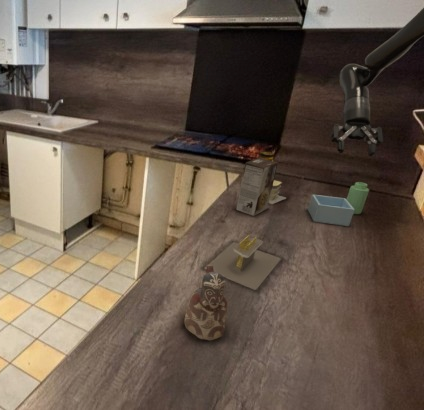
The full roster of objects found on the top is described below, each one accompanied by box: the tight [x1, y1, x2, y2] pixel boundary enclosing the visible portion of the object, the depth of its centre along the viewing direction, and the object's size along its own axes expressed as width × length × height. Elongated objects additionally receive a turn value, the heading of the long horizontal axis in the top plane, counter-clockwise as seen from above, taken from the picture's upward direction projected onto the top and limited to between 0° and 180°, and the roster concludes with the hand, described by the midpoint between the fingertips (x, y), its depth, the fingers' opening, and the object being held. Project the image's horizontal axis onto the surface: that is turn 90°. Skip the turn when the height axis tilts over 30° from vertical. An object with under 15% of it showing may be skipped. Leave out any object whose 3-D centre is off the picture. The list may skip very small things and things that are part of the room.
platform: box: [203, 234, 282, 291], centre depth 86 cm, size 12×18×7 cm, turn 137°
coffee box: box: [236, 157, 279, 217], centre depth 114 cm, size 9×6×16 cm
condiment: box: [257, 151, 275, 161], centre depth 139 cm, size 7×8×12 cm
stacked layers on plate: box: [269, 179, 287, 205], centre depth 126 cm, size 10×9×6 cm
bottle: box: [345, 181, 370, 215], centre depth 115 cm, size 5×5×10 cm
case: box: [307, 194, 355, 227], centre depth 111 cm, size 9×9×6 cm
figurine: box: [184, 264, 228, 341], centre depth 64 cm, size 7×7×12 cm
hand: (356, 153), depth 120 cm, fingers open, 8 cm apart
